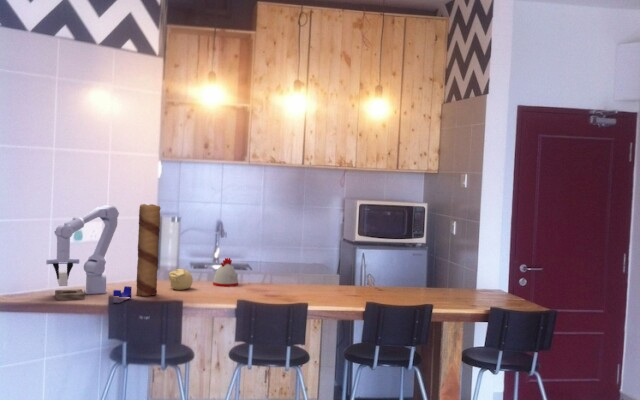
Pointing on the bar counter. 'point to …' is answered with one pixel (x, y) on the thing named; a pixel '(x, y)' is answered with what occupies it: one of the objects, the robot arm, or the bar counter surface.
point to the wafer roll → (148, 249)
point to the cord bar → (63, 278)
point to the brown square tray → (69, 294)
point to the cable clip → (124, 294)
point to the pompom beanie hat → (225, 275)
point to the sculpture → (180, 279)
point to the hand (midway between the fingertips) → (62, 278)
